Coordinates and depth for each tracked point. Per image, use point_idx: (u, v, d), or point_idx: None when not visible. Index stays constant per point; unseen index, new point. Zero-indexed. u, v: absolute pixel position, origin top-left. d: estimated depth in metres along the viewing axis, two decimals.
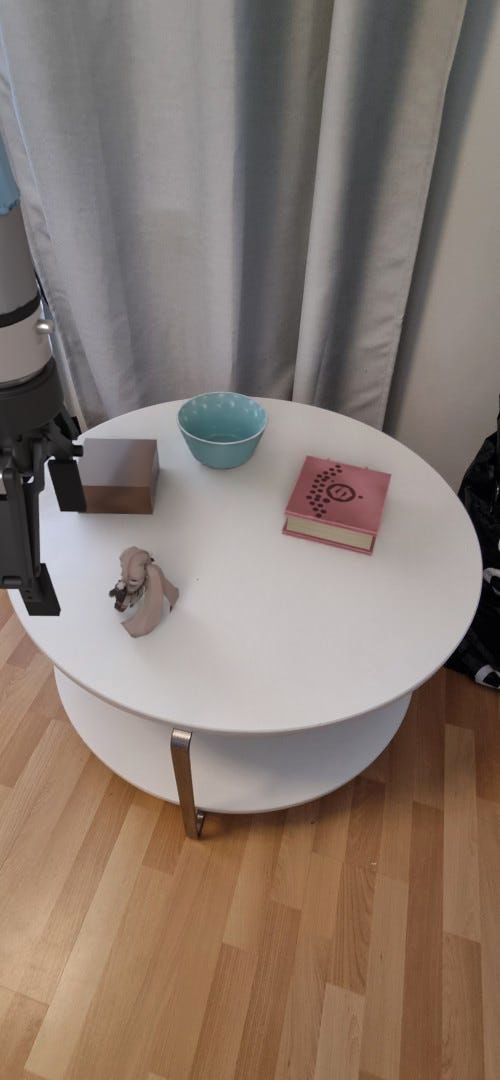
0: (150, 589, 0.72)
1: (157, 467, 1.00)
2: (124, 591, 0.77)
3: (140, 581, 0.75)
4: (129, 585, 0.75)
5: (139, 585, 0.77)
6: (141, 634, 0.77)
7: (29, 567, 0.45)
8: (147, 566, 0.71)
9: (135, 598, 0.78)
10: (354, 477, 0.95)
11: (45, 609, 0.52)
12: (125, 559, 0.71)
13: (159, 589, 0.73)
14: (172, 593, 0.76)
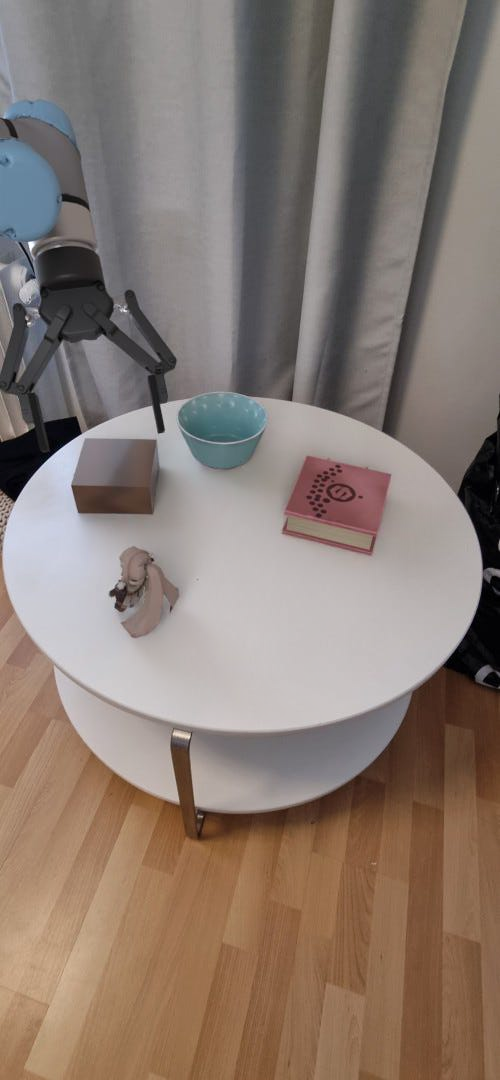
0: (150, 589, 0.72)
1: (157, 467, 1.00)
2: (124, 591, 0.77)
3: (140, 581, 0.75)
4: (129, 585, 0.75)
5: (139, 585, 0.77)
6: (141, 634, 0.77)
7: None
8: (147, 566, 0.71)
9: (135, 598, 0.78)
10: (354, 477, 0.95)
11: None
12: (125, 559, 0.71)
13: (159, 589, 0.73)
14: (172, 593, 0.76)
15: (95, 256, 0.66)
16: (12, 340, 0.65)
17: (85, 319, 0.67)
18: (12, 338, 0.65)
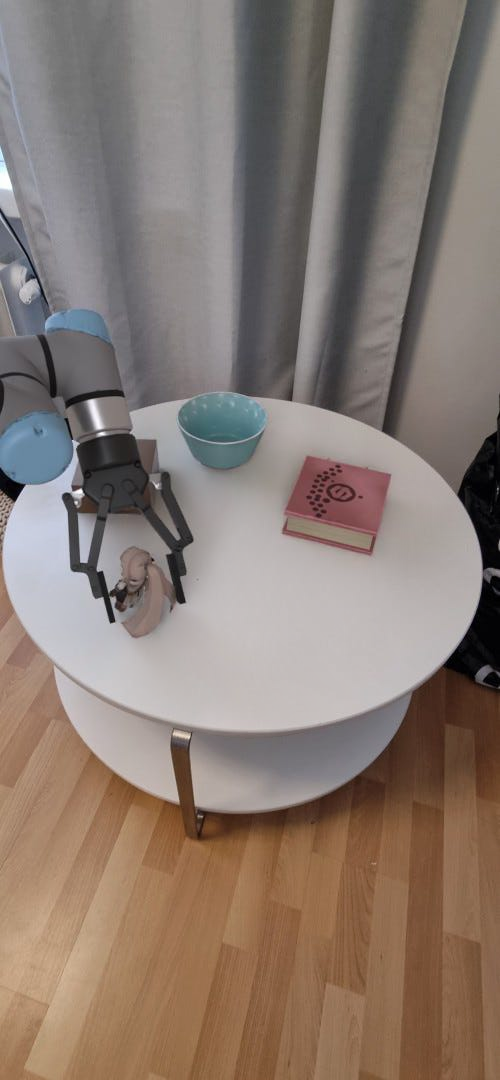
0: (150, 589, 0.72)
1: (157, 467, 1.00)
2: (125, 591, 0.77)
3: (140, 581, 0.75)
4: (130, 585, 0.75)
5: (139, 585, 0.77)
6: (141, 634, 0.77)
7: None
8: (148, 566, 0.71)
9: (135, 598, 0.78)
10: (354, 477, 0.95)
11: None
12: (125, 559, 0.71)
13: (159, 589, 0.73)
14: (172, 593, 0.76)
15: (133, 439, 0.73)
16: (70, 526, 0.71)
17: (125, 494, 0.73)
18: (70, 524, 0.71)
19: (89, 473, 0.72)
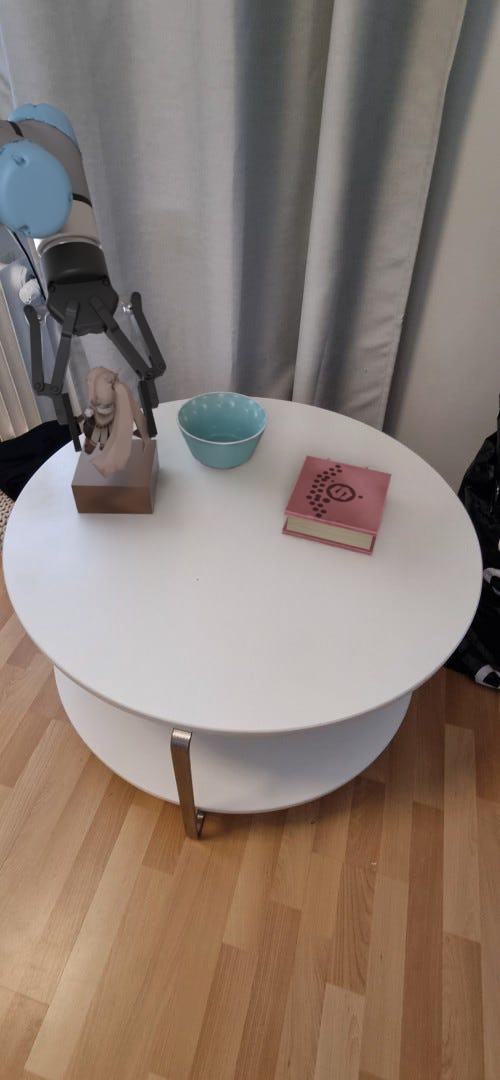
0: (118, 411, 0.68)
1: (157, 467, 1.00)
2: (93, 424, 0.72)
3: (109, 410, 0.70)
4: (98, 415, 0.71)
5: (109, 419, 0.73)
6: (110, 470, 0.72)
7: None
8: (115, 384, 0.66)
9: (105, 435, 0.74)
10: (354, 477, 0.95)
11: None
12: (91, 377, 0.67)
13: (128, 412, 0.68)
14: (143, 425, 0.71)
15: (101, 252, 0.68)
16: (33, 341, 0.67)
17: (92, 312, 0.69)
18: (32, 339, 0.67)
19: (53, 287, 0.68)
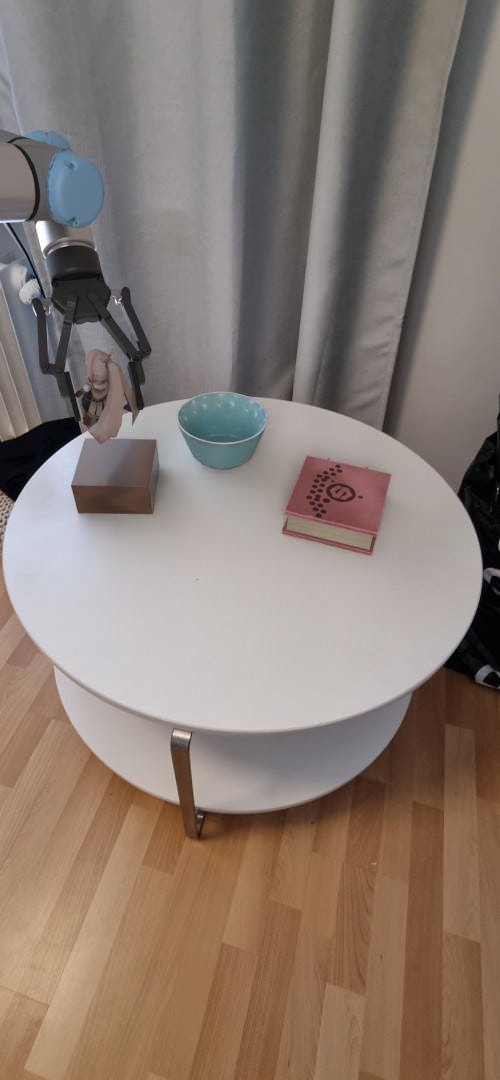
0: (111, 386, 0.81)
1: (157, 467, 1.00)
2: (90, 399, 0.86)
3: (103, 386, 0.84)
4: (94, 390, 0.84)
5: (103, 394, 0.86)
6: (105, 437, 0.85)
7: None
8: (108, 363, 0.80)
9: (100, 408, 0.87)
10: (354, 477, 0.95)
11: None
12: (89, 358, 0.80)
13: (119, 387, 0.81)
14: (133, 399, 0.85)
15: (96, 254, 0.82)
16: (39, 328, 0.80)
17: (89, 304, 0.82)
18: (39, 326, 0.80)
19: (56, 283, 0.81)
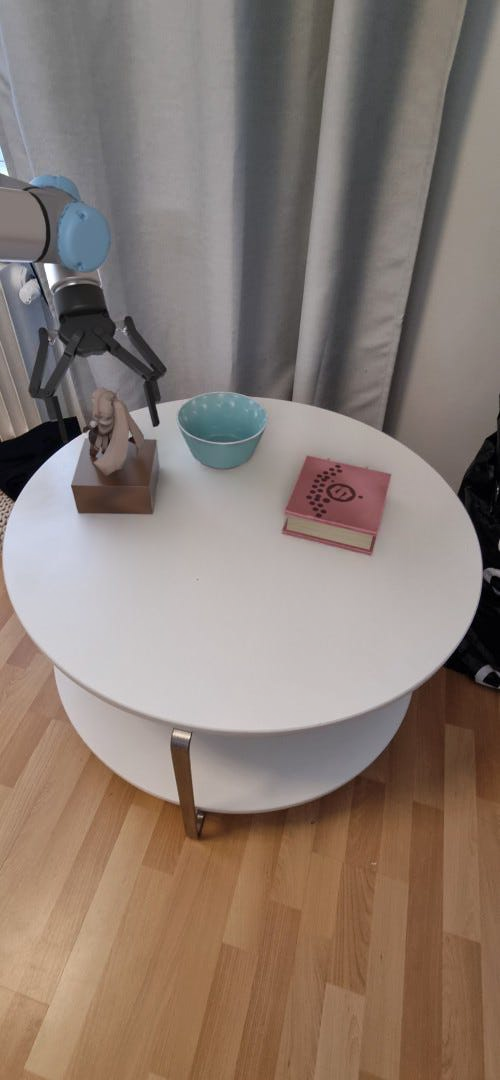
0: (117, 423, 0.86)
1: (157, 467, 1.00)
2: (97, 433, 0.90)
3: (109, 421, 0.88)
4: (100, 425, 0.89)
5: (109, 428, 0.90)
6: (111, 469, 0.90)
7: None
8: (114, 401, 0.84)
9: (106, 442, 0.92)
10: (354, 477, 0.95)
11: None
12: (95, 396, 0.85)
13: (124, 423, 0.86)
14: (137, 433, 0.89)
15: (101, 291, 0.85)
16: (38, 356, 0.84)
17: (94, 338, 0.86)
18: (38, 354, 0.84)
19: (63, 318, 0.85)
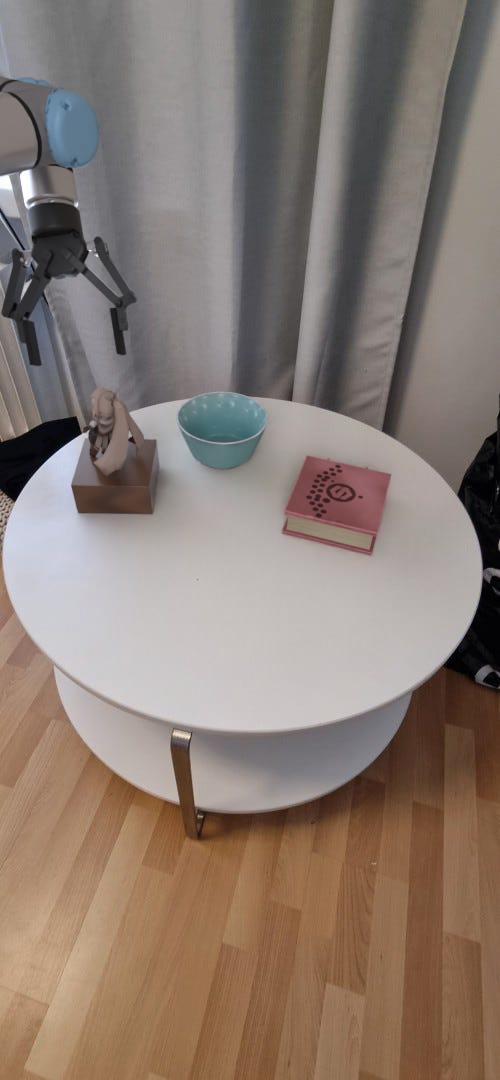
0: (117, 423, 0.86)
1: (157, 467, 1.00)
2: (97, 433, 0.90)
3: (109, 421, 0.88)
4: (100, 425, 0.89)
5: (109, 428, 0.90)
6: (111, 469, 0.90)
7: None
8: (114, 401, 0.84)
9: (106, 442, 0.92)
10: (354, 477, 0.95)
11: (123, 347, 0.89)
12: (95, 396, 0.85)
13: (124, 423, 0.86)
14: (137, 433, 0.89)
15: (70, 209, 0.84)
16: (11, 278, 0.87)
17: (64, 261, 0.86)
18: (11, 276, 0.87)
19: (36, 239, 0.85)
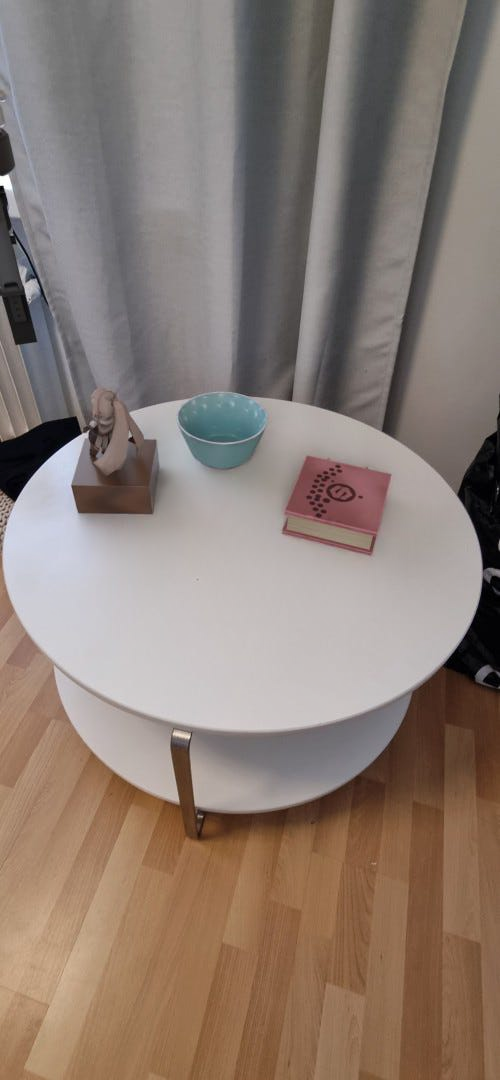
0: (117, 423, 0.86)
1: (157, 467, 1.00)
2: (97, 433, 0.90)
3: (109, 421, 0.88)
4: (100, 425, 0.89)
5: (109, 428, 0.90)
6: (111, 469, 0.90)
7: (20, 277, 0.67)
8: (114, 401, 0.84)
9: (106, 442, 0.92)
10: (354, 477, 0.95)
11: (27, 335, 0.74)
12: (95, 396, 0.85)
13: (124, 423, 0.86)
14: (137, 433, 0.89)
15: None
16: None
17: None
18: None
19: None
